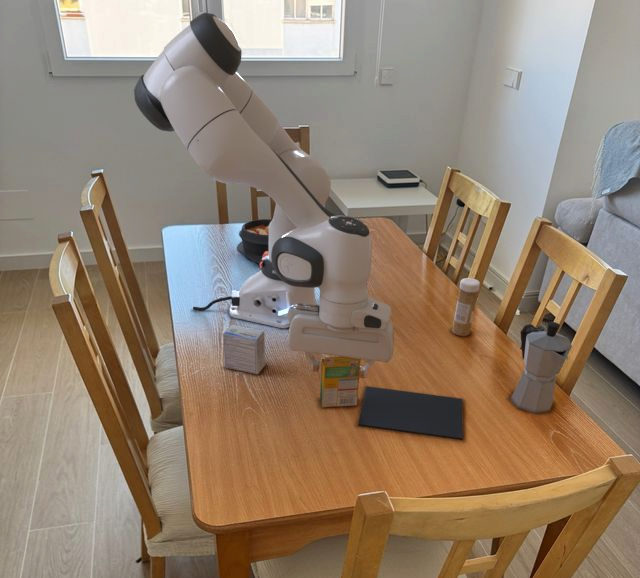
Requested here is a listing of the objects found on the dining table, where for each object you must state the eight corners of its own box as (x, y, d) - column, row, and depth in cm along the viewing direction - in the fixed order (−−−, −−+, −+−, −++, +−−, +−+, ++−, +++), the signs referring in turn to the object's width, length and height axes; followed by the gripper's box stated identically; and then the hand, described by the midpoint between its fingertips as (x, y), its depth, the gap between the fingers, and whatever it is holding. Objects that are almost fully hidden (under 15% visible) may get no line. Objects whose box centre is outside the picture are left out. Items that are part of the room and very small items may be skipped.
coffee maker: (567, 415, 128) (593, 336, 118) (529, 421, 126) (553, 341, 115) (527, 377, 140) (548, 303, 129) (492, 382, 137) (510, 306, 127)
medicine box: (265, 365, 139) (265, 330, 134) (257, 375, 135) (256, 339, 130) (233, 358, 141) (231, 323, 136) (224, 368, 137) (222, 332, 132)
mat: (358, 425, 122) (358, 424, 122) (366, 387, 133) (366, 386, 133) (462, 440, 120) (462, 438, 120) (461, 400, 131) (462, 398, 131)
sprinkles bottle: (473, 334, 156) (484, 282, 148) (460, 338, 153) (470, 286, 145) (460, 326, 159) (470, 275, 151) (447, 330, 156) (456, 279, 148)
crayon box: (354, 397, 130) (358, 348, 123) (357, 405, 128) (361, 355, 121) (319, 399, 129) (321, 349, 122) (321, 408, 127) (324, 357, 120)
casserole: (306, 268, 184) (307, 240, 179) (242, 271, 180) (241, 243, 175) (289, 238, 204) (289, 212, 199) (231, 241, 200) (230, 214, 195)
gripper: (284, 309, 115) (283, 374, 123) (396, 322, 112) (388, 388, 120) (291, 295, 120) (290, 359, 128) (399, 307, 117) (391, 371, 125)
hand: (338, 373), depth 124 cm, fingers open, 8 cm apart
